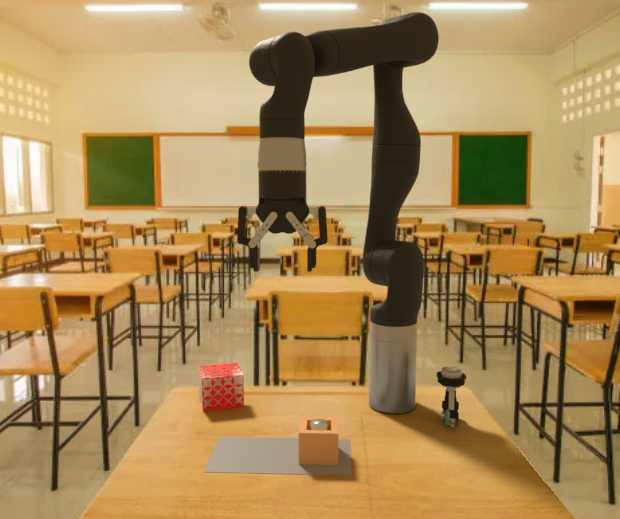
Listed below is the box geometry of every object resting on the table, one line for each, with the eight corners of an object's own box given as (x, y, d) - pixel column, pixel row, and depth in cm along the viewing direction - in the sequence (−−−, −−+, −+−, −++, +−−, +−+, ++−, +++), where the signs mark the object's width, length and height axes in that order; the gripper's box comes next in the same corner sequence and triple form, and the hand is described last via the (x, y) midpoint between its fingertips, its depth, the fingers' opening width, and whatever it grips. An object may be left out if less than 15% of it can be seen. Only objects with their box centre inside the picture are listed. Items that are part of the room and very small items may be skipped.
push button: (467, 431, 100) (469, 377, 99) (437, 429, 101) (438, 376, 100) (462, 416, 107) (464, 365, 106) (434, 414, 108) (435, 364, 106)
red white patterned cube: (199, 403, 114) (198, 365, 113) (238, 399, 116) (237, 362, 115) (202, 418, 106) (201, 378, 105) (244, 414, 108) (243, 374, 107)
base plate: (219, 444, 95) (219, 436, 95) (349, 447, 94) (349, 439, 94) (203, 481, 83) (203, 471, 83) (351, 484, 82) (351, 475, 82)
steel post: (310, 460, 90) (311, 418, 89) (327, 460, 89) (327, 418, 89) (310, 468, 87) (310, 425, 86) (326, 468, 87) (327, 425, 86)
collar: (300, 446, 91) (300, 416, 90) (337, 447, 91) (337, 417, 90) (298, 464, 85) (298, 432, 85) (338, 465, 85) (338, 433, 84)
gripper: (328, 169, 91) (327, 268, 93) (241, 169, 92) (242, 267, 94) (327, 167, 84) (327, 275, 86) (233, 168, 84) (234, 274, 86)
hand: (283, 271), depth 90 cm, fingers open, 8 cm apart
